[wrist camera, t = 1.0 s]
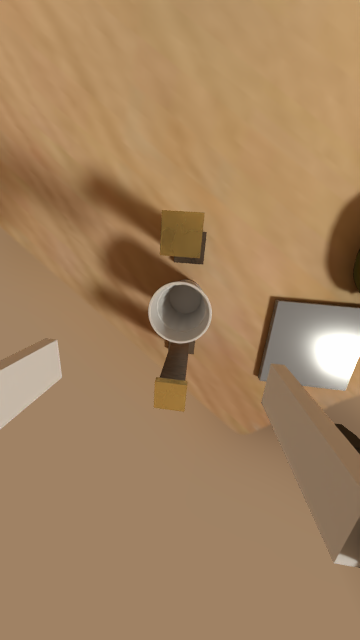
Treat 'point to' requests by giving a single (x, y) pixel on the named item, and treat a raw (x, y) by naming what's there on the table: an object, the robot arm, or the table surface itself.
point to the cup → (180, 311)
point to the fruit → (357, 271)
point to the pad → (313, 343)
